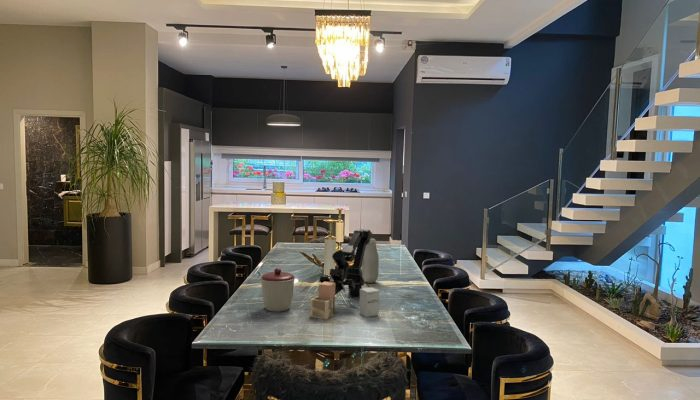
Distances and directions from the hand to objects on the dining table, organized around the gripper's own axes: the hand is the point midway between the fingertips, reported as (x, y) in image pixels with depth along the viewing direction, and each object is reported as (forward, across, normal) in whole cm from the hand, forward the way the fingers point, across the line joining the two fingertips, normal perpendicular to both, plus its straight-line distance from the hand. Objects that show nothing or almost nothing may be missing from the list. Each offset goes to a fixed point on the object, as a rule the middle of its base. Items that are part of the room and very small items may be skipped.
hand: (332, 296), depth 254 cm
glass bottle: (-38, -4, +47) cm, 61 cm away
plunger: (+8, 0, 0) cm, 8 cm away
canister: (+13, -26, -3) cm, 29 cm away
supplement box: (+4, +20, +6) cm, 21 cm away
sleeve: (+13, 0, -3) cm, 13 cm away
